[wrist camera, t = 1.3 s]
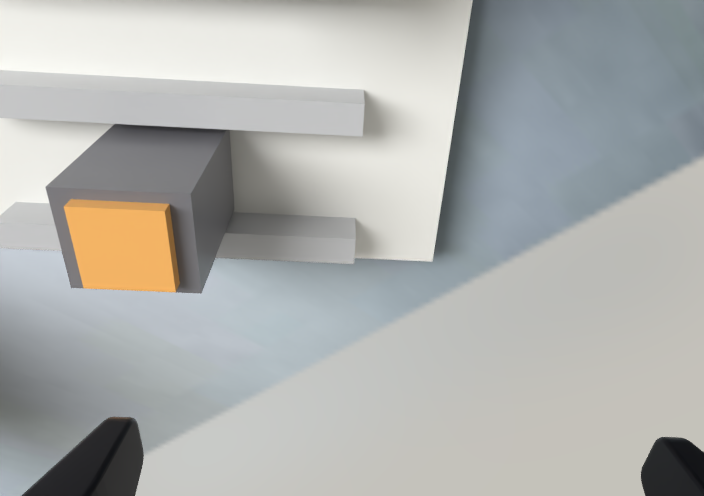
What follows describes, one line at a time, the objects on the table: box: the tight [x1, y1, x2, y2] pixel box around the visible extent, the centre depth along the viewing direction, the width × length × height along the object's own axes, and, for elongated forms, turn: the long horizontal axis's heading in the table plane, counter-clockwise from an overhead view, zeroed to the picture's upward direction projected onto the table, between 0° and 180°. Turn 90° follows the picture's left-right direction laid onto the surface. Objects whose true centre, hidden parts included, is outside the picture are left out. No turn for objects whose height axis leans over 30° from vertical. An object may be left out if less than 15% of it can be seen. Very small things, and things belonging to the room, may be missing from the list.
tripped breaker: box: [45, 124, 234, 293], centre depth 16 cm, size 4×3×5 cm
